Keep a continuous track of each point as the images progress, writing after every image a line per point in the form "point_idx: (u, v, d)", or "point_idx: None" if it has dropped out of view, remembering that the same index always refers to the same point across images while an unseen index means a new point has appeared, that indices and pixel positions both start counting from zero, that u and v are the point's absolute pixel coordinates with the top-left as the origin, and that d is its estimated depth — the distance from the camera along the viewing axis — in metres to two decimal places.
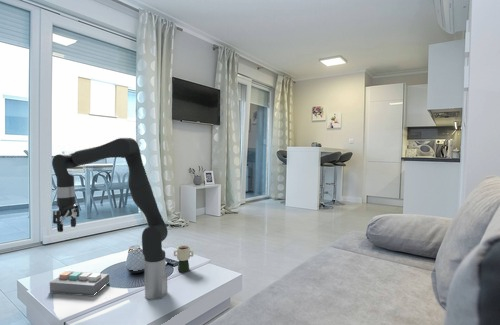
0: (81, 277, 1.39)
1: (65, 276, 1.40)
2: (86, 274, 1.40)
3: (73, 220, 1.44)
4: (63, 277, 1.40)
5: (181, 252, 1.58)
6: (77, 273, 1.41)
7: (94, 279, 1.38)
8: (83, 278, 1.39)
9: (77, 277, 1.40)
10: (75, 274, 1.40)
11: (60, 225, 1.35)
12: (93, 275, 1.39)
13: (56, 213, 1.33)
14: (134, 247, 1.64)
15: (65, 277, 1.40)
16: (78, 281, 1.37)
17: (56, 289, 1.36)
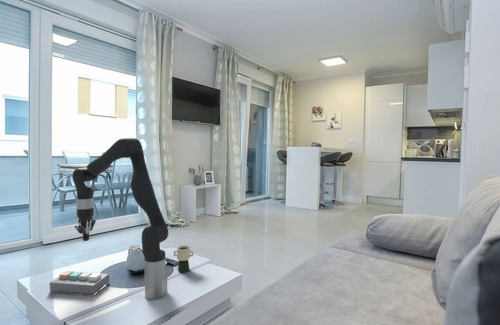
0: (81, 277, 1.39)
1: (65, 276, 1.40)
2: (86, 274, 1.40)
3: None
4: (63, 277, 1.40)
5: (181, 252, 1.58)
6: (77, 273, 1.41)
7: (94, 279, 1.38)
8: (83, 278, 1.39)
9: (77, 277, 1.40)
10: (75, 274, 1.40)
11: (85, 235, 1.47)
12: (93, 275, 1.39)
13: (78, 228, 1.43)
14: (134, 247, 1.64)
15: (65, 277, 1.40)
16: (78, 281, 1.37)
17: (56, 289, 1.36)
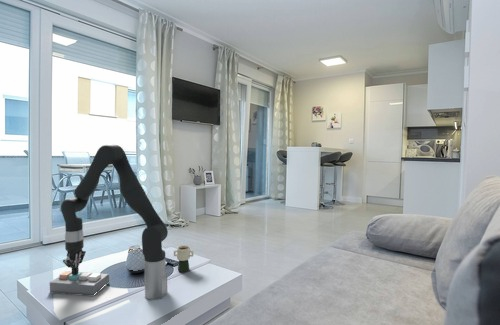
0: (81, 277, 1.39)
1: (65, 276, 1.40)
2: (86, 274, 1.40)
3: None
4: (63, 277, 1.40)
5: (181, 252, 1.58)
6: None
7: (94, 279, 1.38)
8: (83, 278, 1.39)
9: (77, 277, 1.40)
10: None
11: (74, 268, 1.40)
12: (93, 275, 1.39)
13: (67, 262, 1.35)
14: (134, 247, 1.64)
15: (65, 277, 1.40)
16: (78, 281, 1.37)
17: (56, 289, 1.36)
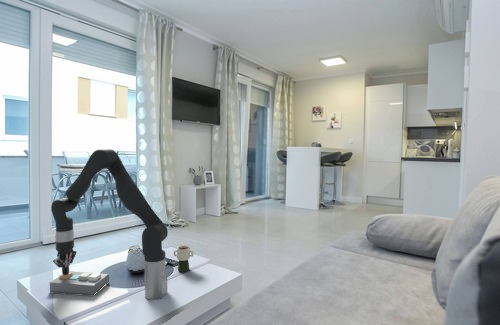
0: (81, 277, 1.39)
1: (65, 277, 1.40)
2: (86, 274, 1.40)
3: None
4: (63, 278, 1.40)
5: (181, 252, 1.58)
6: (77, 276, 1.42)
7: (94, 279, 1.38)
8: (83, 278, 1.39)
9: None
10: (75, 277, 1.40)
11: (65, 268, 1.40)
12: (93, 275, 1.39)
13: (57, 262, 1.35)
14: (134, 247, 1.64)
15: (65, 278, 1.40)
16: (78, 281, 1.37)
17: (56, 289, 1.36)
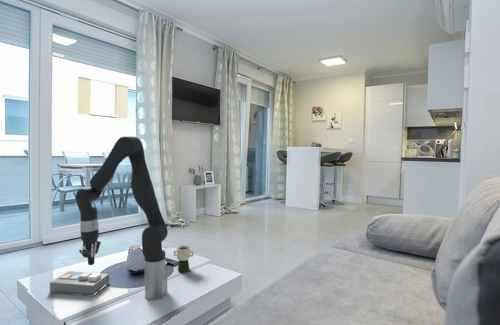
0: (81, 277, 1.39)
1: None
2: (86, 274, 1.40)
3: None
4: None
5: (181, 252, 1.58)
6: (77, 276, 1.42)
7: (94, 279, 1.38)
8: (83, 278, 1.39)
9: None
10: (75, 277, 1.40)
11: (90, 258, 1.38)
12: (93, 275, 1.39)
13: (83, 252, 1.33)
14: (134, 247, 1.64)
15: None
16: (78, 281, 1.37)
17: (56, 289, 1.36)
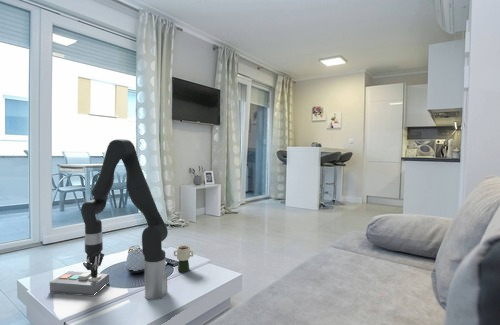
0: (81, 277, 1.39)
1: None
2: (86, 274, 1.40)
3: None
4: None
5: (181, 252, 1.58)
6: (77, 276, 1.42)
7: None
8: (83, 278, 1.39)
9: None
10: (75, 277, 1.40)
11: (94, 271, 1.39)
12: None
13: (87, 265, 1.34)
14: (134, 247, 1.64)
15: None
16: (78, 281, 1.37)
17: (56, 289, 1.36)
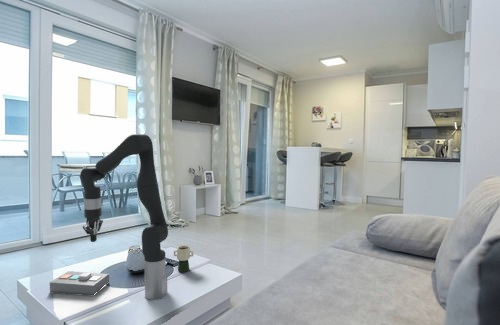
0: (81, 277, 1.39)
1: None
2: (86, 274, 1.40)
3: None
4: None
5: (181, 252, 1.58)
6: (77, 276, 1.42)
7: None
8: (83, 278, 1.39)
9: None
10: (75, 277, 1.40)
11: (93, 236, 1.44)
12: (93, 278, 1.40)
13: (86, 229, 1.39)
14: (134, 247, 1.64)
15: None
16: (78, 281, 1.37)
17: (56, 289, 1.36)
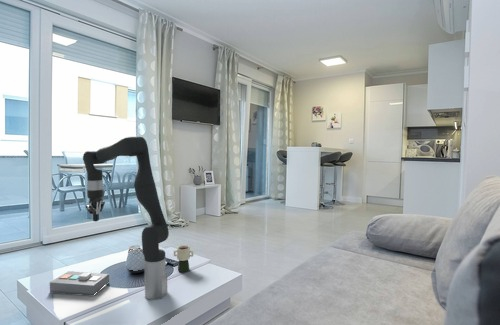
0: (81, 277, 1.39)
1: None
2: (86, 274, 1.40)
3: None
4: None
5: (181, 252, 1.58)
6: (77, 276, 1.42)
7: None
8: (83, 278, 1.39)
9: None
10: (75, 277, 1.40)
11: (95, 215, 1.53)
12: (93, 278, 1.40)
13: (89, 208, 1.48)
14: (134, 247, 1.64)
15: None
16: (78, 281, 1.37)
17: (56, 289, 1.36)
